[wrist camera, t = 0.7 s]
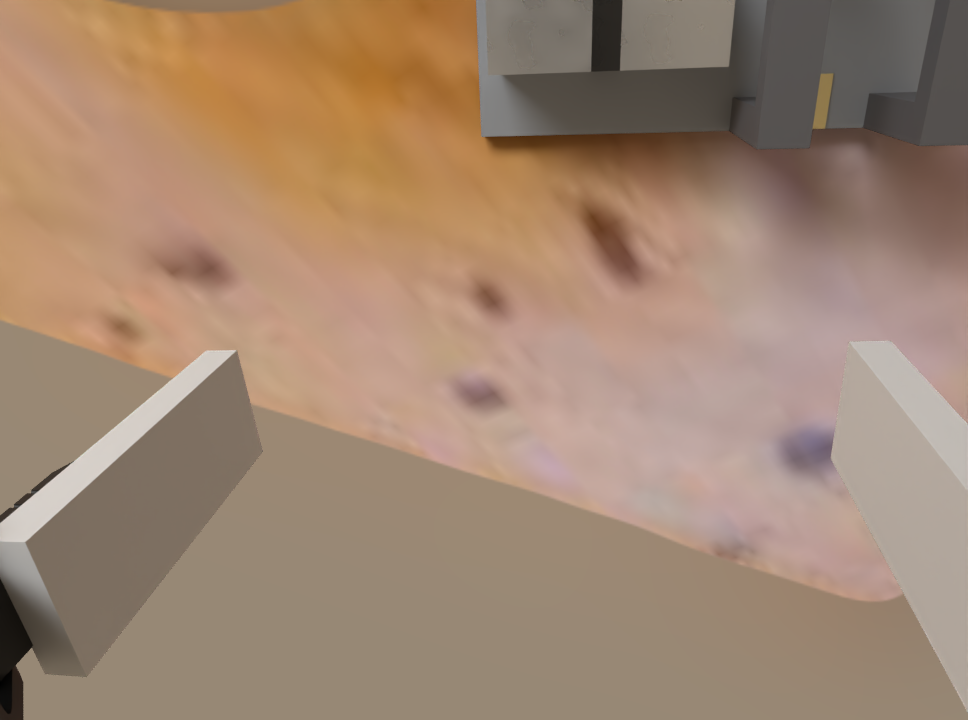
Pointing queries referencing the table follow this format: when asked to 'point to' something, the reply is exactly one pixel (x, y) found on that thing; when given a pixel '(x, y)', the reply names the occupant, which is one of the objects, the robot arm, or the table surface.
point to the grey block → (606, 35)
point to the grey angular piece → (767, 80)
